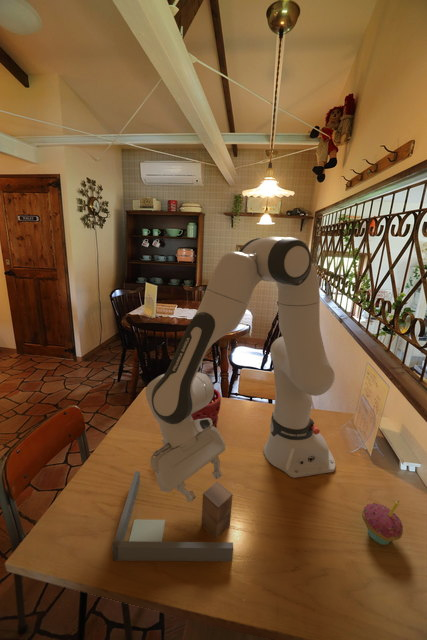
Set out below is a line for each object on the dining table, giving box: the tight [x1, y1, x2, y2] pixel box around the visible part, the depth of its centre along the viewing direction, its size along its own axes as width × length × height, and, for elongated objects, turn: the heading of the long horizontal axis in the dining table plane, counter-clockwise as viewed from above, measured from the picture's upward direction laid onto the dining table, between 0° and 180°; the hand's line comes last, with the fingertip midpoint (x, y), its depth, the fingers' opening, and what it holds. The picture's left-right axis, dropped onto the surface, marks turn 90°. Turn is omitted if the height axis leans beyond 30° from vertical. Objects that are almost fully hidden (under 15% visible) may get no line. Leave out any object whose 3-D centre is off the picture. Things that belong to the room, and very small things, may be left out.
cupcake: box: [361, 499, 404, 546], centre depth 67 cm, size 9×8×12 cm
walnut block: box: [201, 481, 233, 541], centre depth 68 cm, size 5×5×10 cm
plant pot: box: [189, 388, 222, 427], centre depth 106 cm, size 13×13×12 cm
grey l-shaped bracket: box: [111, 470, 234, 562], centre depth 70 cm, size 26×20×4 cm
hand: (206, 488), depth 69 cm, fingers open, 8 cm apart
